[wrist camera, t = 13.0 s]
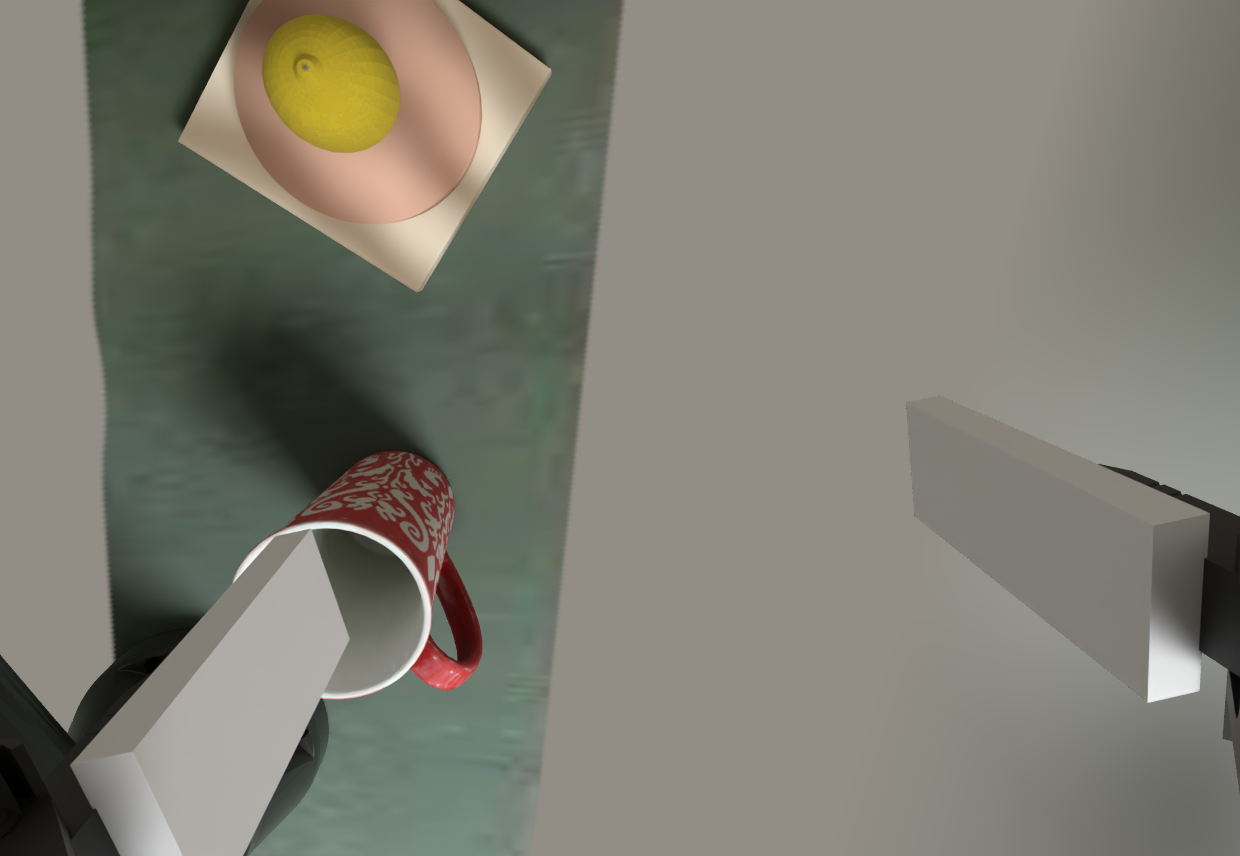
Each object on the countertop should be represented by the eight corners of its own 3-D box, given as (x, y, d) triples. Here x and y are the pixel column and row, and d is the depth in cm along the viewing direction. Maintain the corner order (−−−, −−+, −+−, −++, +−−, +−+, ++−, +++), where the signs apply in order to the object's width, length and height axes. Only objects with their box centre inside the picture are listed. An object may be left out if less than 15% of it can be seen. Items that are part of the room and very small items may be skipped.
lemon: (437, 108, 36) (406, 77, 28) (360, 183, 37) (309, 172, 29) (355, 15, 35) (299, -45, 27) (277, 94, 35) (200, 58, 28)
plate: (421, 290, 41) (412, 294, 38) (192, 144, 38) (162, 137, 35) (551, 75, 39) (551, 63, 36) (316, -100, 36) (296, -129, 33)
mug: (290, 499, 44) (181, 612, 31) (394, 405, 43) (327, 482, 30) (434, 628, 47) (390, 778, 34) (535, 544, 46) (527, 666, 33)
